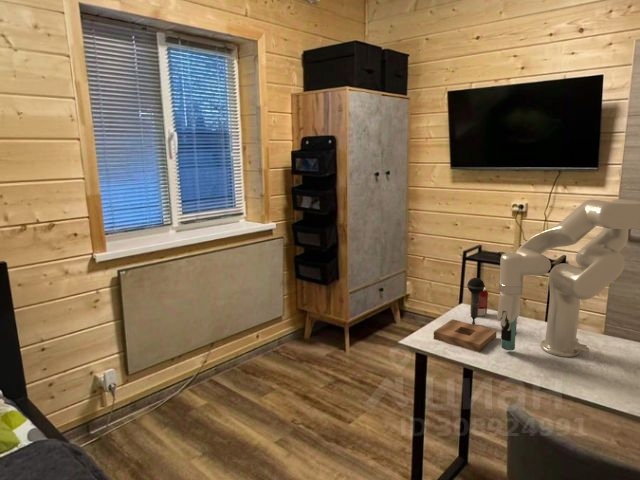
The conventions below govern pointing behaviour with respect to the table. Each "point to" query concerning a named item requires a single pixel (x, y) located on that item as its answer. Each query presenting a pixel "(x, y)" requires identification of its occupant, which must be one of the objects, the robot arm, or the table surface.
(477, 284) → the microphone
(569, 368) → the table surface
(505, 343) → the peg
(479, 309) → the soda can
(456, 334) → the socket board
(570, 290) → the robot arm
